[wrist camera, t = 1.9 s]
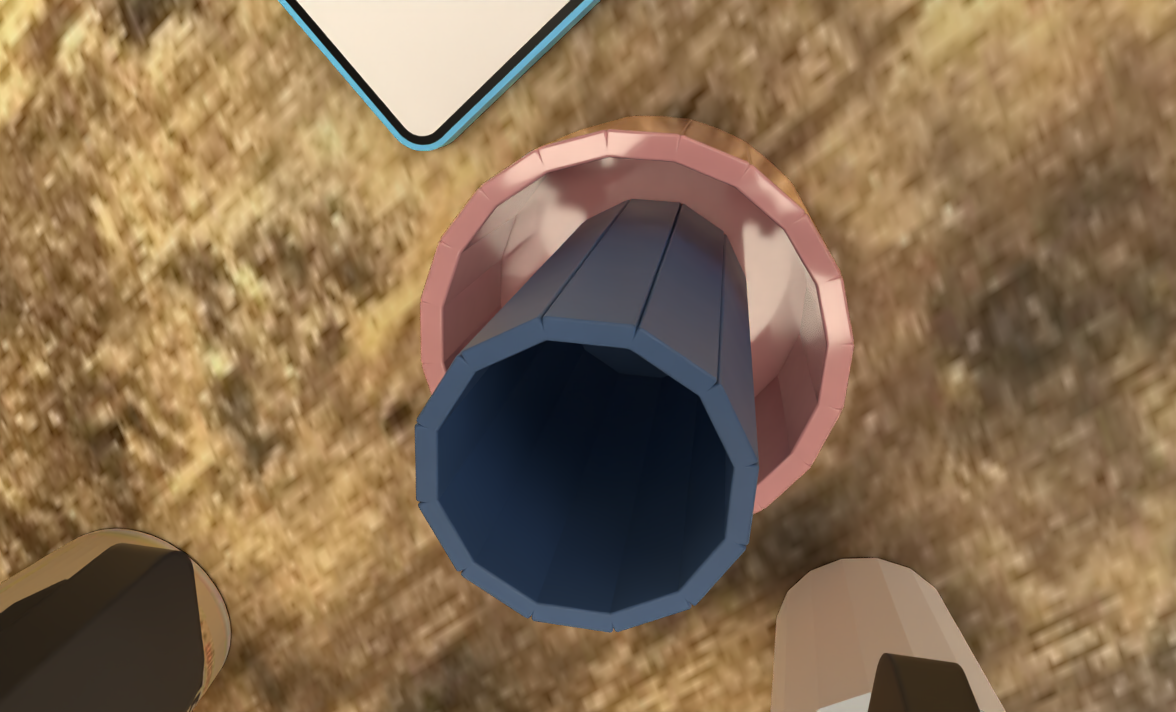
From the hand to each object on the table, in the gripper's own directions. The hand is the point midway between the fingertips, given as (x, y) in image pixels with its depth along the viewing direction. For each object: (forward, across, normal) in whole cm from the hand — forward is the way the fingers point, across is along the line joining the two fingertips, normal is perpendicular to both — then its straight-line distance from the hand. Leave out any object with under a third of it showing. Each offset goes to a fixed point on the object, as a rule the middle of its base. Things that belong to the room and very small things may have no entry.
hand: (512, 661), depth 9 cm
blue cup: (+16, 0, 0) cm, 16 cm away
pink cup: (+17, 0, 0) cm, 17 cm away
